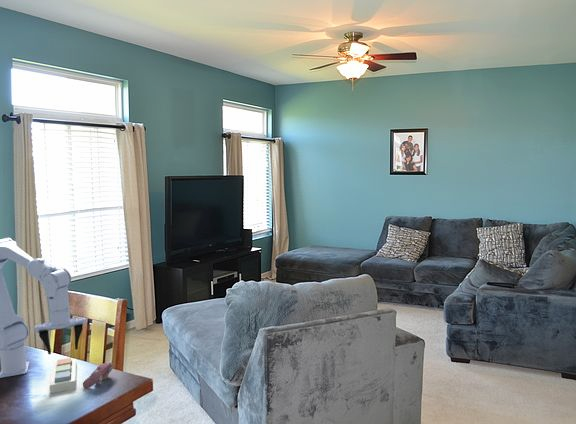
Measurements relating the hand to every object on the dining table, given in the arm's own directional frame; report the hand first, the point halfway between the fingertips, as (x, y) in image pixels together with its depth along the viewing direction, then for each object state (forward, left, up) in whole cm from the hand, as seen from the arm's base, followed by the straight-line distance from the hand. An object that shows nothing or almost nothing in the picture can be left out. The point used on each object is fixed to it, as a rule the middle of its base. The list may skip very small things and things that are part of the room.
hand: (63, 350), depth 155 cm
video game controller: (+7, +10, -10) cm, 15 cm away
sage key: (-1, 0, -8) cm, 8 cm away
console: (-1, 0, -10) cm, 10 cm away
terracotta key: (-6, 0, -8) cm, 10 cm away
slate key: (+5, 0, -8) cm, 9 cm away
